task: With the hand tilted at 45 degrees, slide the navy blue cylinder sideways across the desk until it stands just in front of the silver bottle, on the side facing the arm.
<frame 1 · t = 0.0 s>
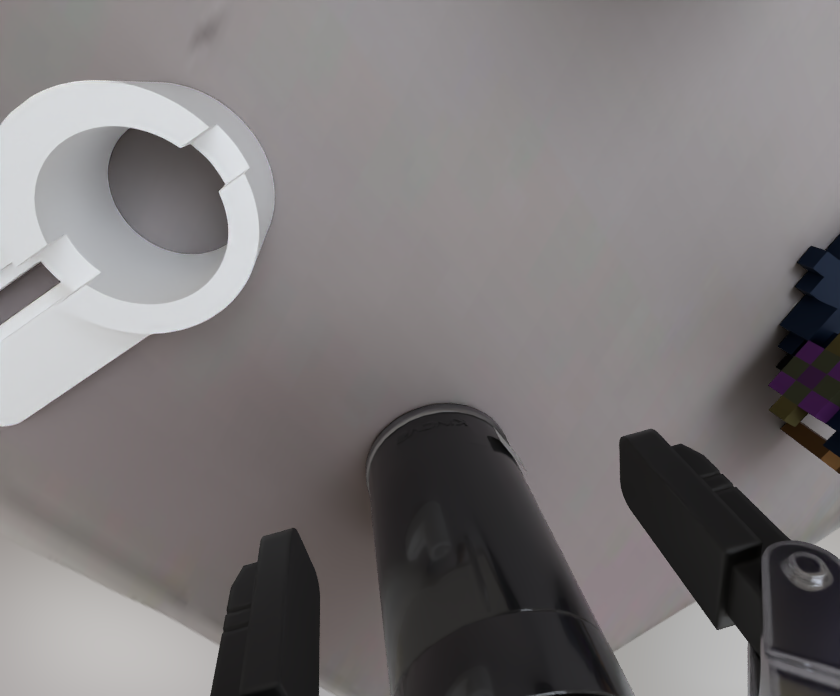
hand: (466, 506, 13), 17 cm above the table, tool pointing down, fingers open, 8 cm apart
blocky voxel figure: (836, 340, 35), on the table
bracket: (85, 253, 25), on the table
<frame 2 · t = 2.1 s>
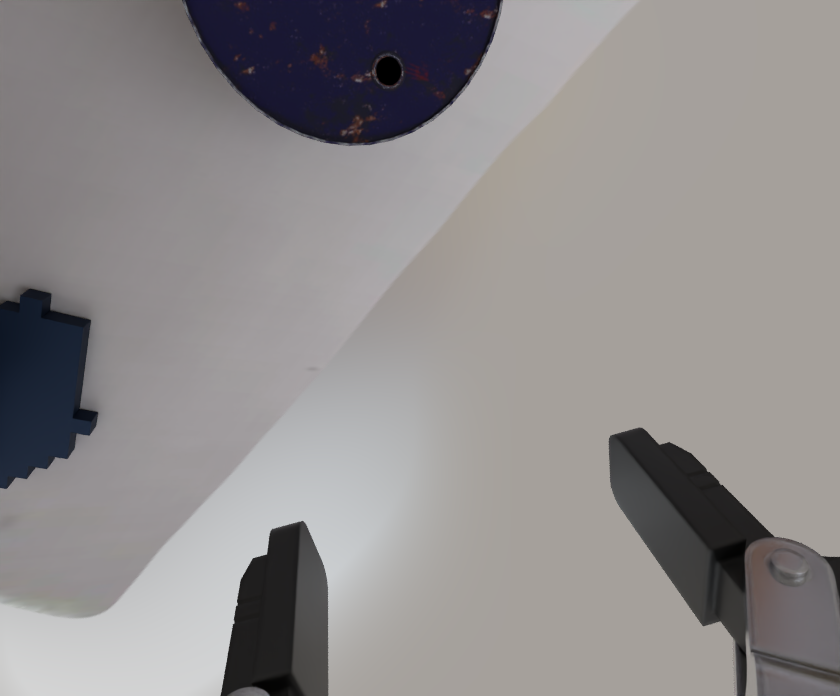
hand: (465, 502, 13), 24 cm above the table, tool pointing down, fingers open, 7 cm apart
navy blue cylinder: (335, 24, 28), on the table
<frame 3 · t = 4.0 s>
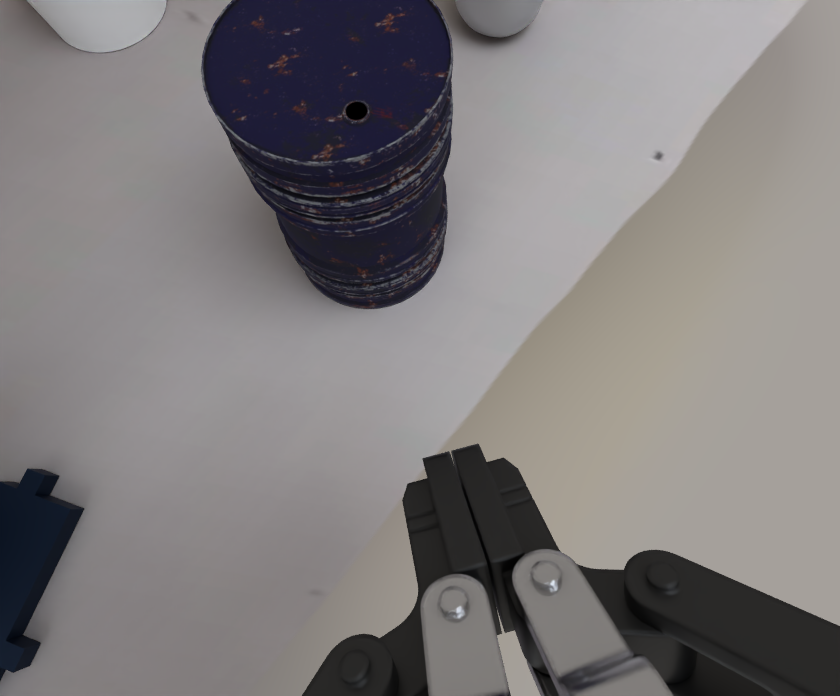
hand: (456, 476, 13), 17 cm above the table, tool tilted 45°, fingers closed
silver bottle: (495, 18, 39), on the table
navy blue cylinder: (371, 241, 34), on the table
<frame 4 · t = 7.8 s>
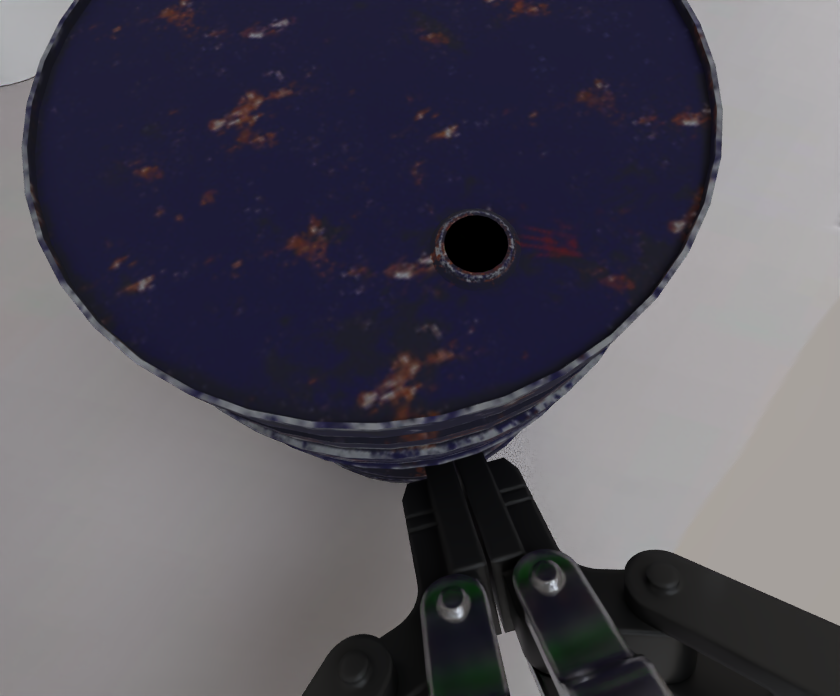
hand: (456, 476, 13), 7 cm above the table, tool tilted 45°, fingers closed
navy blue cylinder: (411, 364, 22), on the table, touching gripper
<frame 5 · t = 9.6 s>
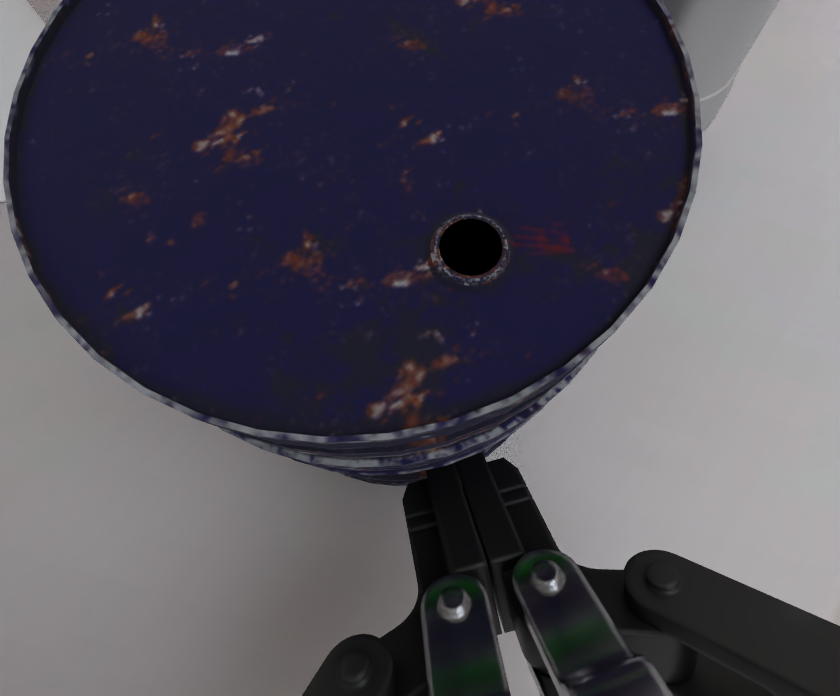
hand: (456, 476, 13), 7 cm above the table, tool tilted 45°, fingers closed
silver bottle: (620, 127, 25), on the table
navy blue cylinder: (404, 366, 22), on the table, touching gripper
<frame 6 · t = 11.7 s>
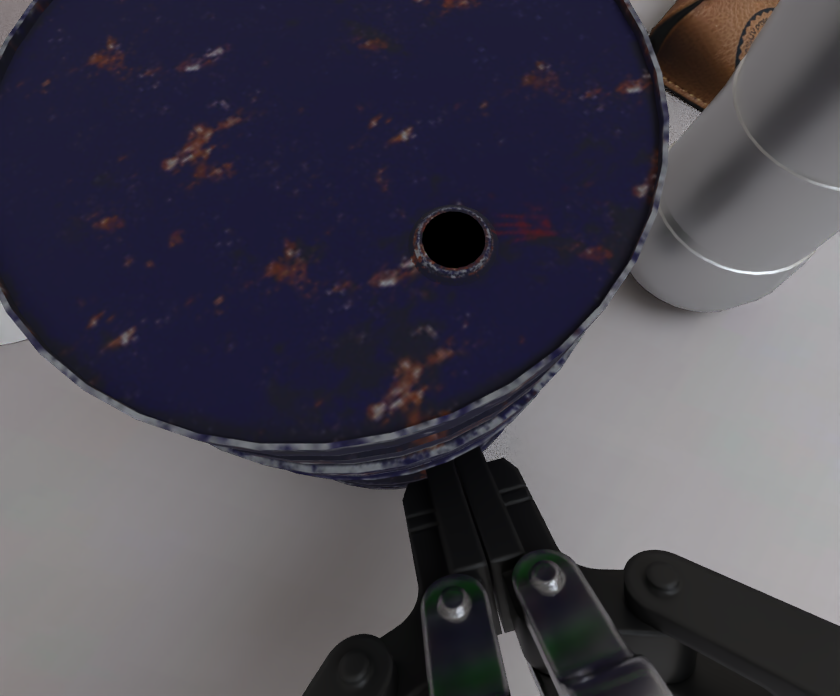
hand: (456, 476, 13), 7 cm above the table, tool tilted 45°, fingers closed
silver bottle: (676, 259, 23), on the table
sunglasses case: (794, 5, 27), on the table
navy blue cylinder: (392, 369, 22), on the table, touching gripper
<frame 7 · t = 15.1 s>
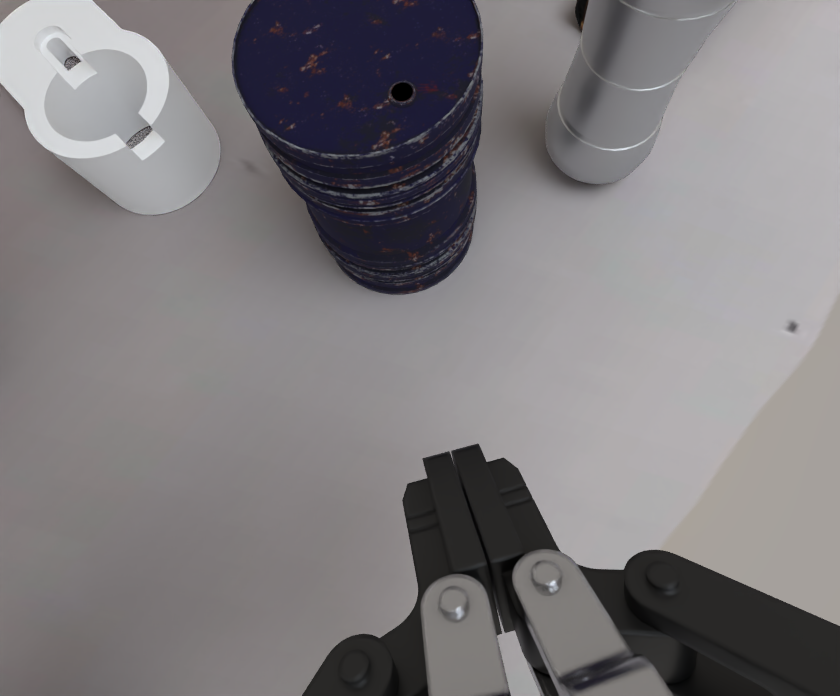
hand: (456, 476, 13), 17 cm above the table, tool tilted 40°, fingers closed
silver bottle: (589, 154, 34), on the table
navy blue cylinder: (400, 226, 34), on the table
bracket: (116, 113, 38), on the table
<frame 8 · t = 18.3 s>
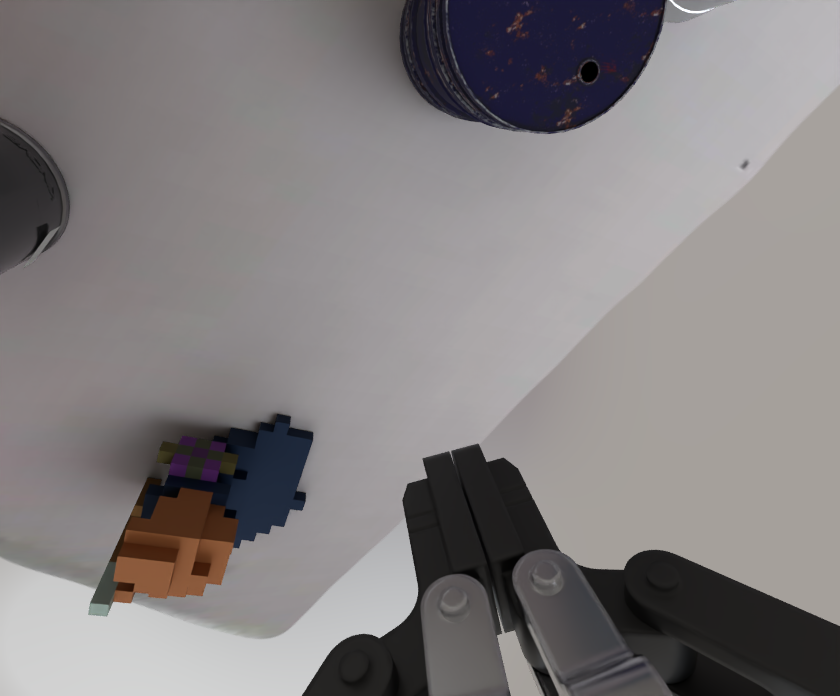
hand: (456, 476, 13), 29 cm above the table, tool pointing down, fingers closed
blocky voxel figure: (232, 474, 47), on the table
navy blue cylinder: (470, 38, 35), on the table
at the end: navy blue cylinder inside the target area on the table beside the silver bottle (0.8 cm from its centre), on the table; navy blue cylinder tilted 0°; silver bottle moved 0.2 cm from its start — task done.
